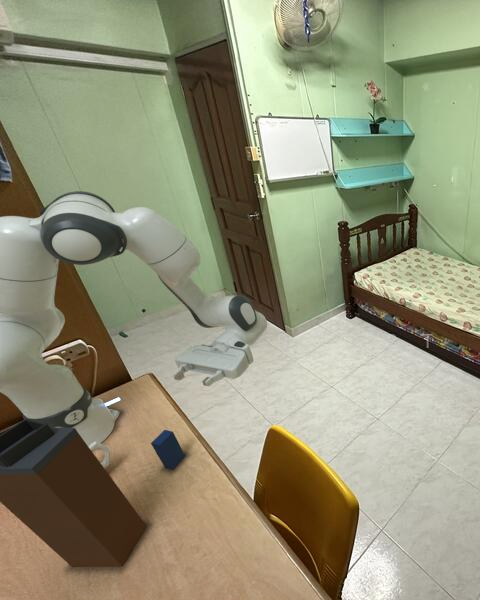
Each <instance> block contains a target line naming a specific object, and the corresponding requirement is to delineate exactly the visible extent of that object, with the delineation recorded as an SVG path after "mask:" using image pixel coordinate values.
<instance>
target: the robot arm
mask: <svg viewBox="0 0 480 600" xmlns="http://www.w3.org/2000/svg"><path fill="white" fill-rule="evenodd" d="M39 215H40V216H39V217H34V218H33V217H26V216H21V215H20V216H19V215H4V216H0V393H1V394H3V395H4V396H6V397H7V398H8V399H9V400H10V401H11V402H12V403H13V404H14V405H15V406H16V408H18V410H19V411H20V412H21V413H22V418H23V420H24V419H32V420H36V421H40V422H44V423H47V424H48V426H49V427H50V428H75V429H76V430H77V432H78V433H79V435H80V436H81V437H82V439H83V440H84V441H85V443H86V444H87V445H88V447H89V446H90V444H92V443H93V442H95V441H96V442H97V443H100V444H102V443H103V442H104V441H105V440H106V439H107V438H108V437H109V436H110V435H111V433H112V432H113V430H114V428H115V425H116V420H117V419H118V418H119V416H120V414H121V412H120V411H118V410H117V409H113V408H112V409H111V408H108V407H107V406H110V405H112V404H115V403H117V402H119V401H121V398H120V397H117V398H114V399H112V400H110V401H108V402H104V401H103V400H102V399H101V398H97V397H92V396H91V393H90V392H89V390H87V389H86V388H85V387H84V386H82V385H81V383H80V382H79V380H78V379H77V377H76V376H75V374H74V373H73V371H72V369H70V368H69V367H68V366H66V365H62V364H49V363H48V362H46V361H45V360H44V358H43V352H45V350H46V349H47V348H48V347H49V346H51V344H52V343H54V341H56V339H57V338H58V337H59V335H60V333H61V332H62V330H63V328H64V327H65V326H64V325H65V323H66V319H65V315H64V313H63V312H62V311H61V310H60V309H59V308H57V307H56V304H55V303H56V302H55V295H56V287H57V279H58V271H59V264H60V261H61V262H63V263H66V264H71V265H76V266H86V265H92V264H93V265H94V264H96V263H99V262H103V261H104V260H107V259H108V258H112V257H117V256H120V255H122V254H124V252H125V251H126V250H127V251H129V252H131V253H132V254H134V255H135V256H137V257H138V258H139V259H140V260H141V261H142V262H144V264H146V265H147V266H148V267H150V268H151V269H152V270H153V271H154V272H155V273H156V274H157V276H158V279H159V280H160V281H161V283H162V284H163V285H164V287H166V289H168V291H170V293H172V295H174V296H175V297H176V298H177V299H178V300H179V301H180V302H181V303H182V304H183V306H185V308H187V310H188V311H189V312H190V314H191V316H192V318H193V320H194V321H195V323H196V324H198V325H199V326H200V327H201V328H204V329H212V328H220V327H224V328H225V331H223V333H221V334H220V335H219V336H218V337H216V338H215V339H214V340H213V341H211V343H210V345H207V344H197V345H193V346H191V347H189V348H187V349H185V350H184V351H183V352H181V353H180V354H178V355H177V356H176V357H175V359H174V361H175V364H176V366H177V368H178V370H177V372H175V373H173V376H172V377H173V379H174V380H176V381H181V380H183V379H184V378H185V377H186V376H185V373H187V372H189V371H191V372H196V373H201V374H207V375H210V376H206V377H205V378H204V379H203V380H202V384H203V386H204V387H210V386H212V385H213V384H214V383H216V382H219V381H221V380H222V379H224V378H227V379H231V380H235V379H238V378H239V377H241V376H242V375H243V374H244V373H245V372H246V371H247V370H248V368H249V366H250V365H251V364H253V363H254V356H253V352H252V349H251V347H252V346H254V345H255V344H256V343H257V342H258V341H259V339H261V338H262V336H263V335H264V333H265V332H266V330H267V328H268V321H267V318H266V317H265V315H264V314H262V313H261V312H260V311H257V310H256V309H255V308H254V306H253V303H252V302H251V300H250V299H249V298H247V296H245V295H243V294H242V295H241V294H238V295H237V294H236V295H234V294H233V295H224V296H214V295H209V294H207V293H205V292H204V291H203V290H202V289H201V288H200V287H199V285H197V284H196V283H195V281H194V280H193V278H191V277H192V276H193V275H194V273H196V272H197V270H198V268H199V266H200V264H201V253H200V252H199V250H198V249H197V247H196V245H195V244H194V243H193V242H192V241H191V240H190V239H189V238H188V237H187V236H186V235H185V234H184V233H183V232H182V231H181V230H180V229H179V228H177V227H176V226H175V224H173V223H172V222H170V221H169V220H168V219H166V218H165V217H164V216H162V215H161V214H160V213H158V212H157V211H156V210H154V209H152V208H150V207H147V206H136V207H131V208H129V209H128V208H127V209H126V210H124V211H121V212H116V211H115V209H114V208H113V206H112V205H111V204H110V203H109V202H108V201H107V199H105V198H103V197H101V196H100V195H97V194H96V193H92V192H89V191H83V190H74V191H69V192H66V193H64V194H61V195H60V196H58V197H56V198H55V199H53V201H51V202H50V203H49V204H47V205H46V206H44V207H43V208H42V209H40V211H39Z"/></svg>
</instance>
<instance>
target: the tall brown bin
mask: <svg viewBox="0 0 480 600" xmlns="http://www.w3.org/2000/svg"><path fill="white" fill-rule="evenodd" d="M0 503H1V504H2V505H3V506H4V507H5V508H6V509H7V510H9V512H11V513H12V514H13V516H15V517H16V518H17V519H18V520H19V521H21V523H23V524H24V525H25V526H26V527H27V528H28V529H29V530H30V531H31V532H32V533H34V534H35V535H36V536H37V537H38V538H39V539H41V540H42V541H43V542H44V543H45V544H46V545H47V546H48V547H49V548H50V549H52V550H53V552H54V553H55V554H57V555H58V556H59V557H60V558H61V559H62V560H63V561H64V562H66V564H68V565H69V566H70V567H72V568H86V567H87V568H90V567H91V568H94V567H95V568H96V567H98V568H99V567H101V568H105V567H107V568H108V567H123V566H124V565H125V563H126V562H127V560H128V558H129V557H130V556H131V553H132V552H133V550H134V548H135V547H136V545H137V543H138V542H139V540H140V539H141V537H142V536H143V534H144V532H145V530H146V529H147V527H148V525H147V524H146V523H145V521H144V520H143V519H142V517H141V516H140V515H139V513H138V512H137V511H136V509H135V508H134V507H133V505H132V503H131V502H130V501H129V500H128V498H127V497H126V496H125V494H124V493H123V492H122V490H121V489H120V487H119V486H118V485H117V483H116V482H115V481H114V479H113V478H112V477H111V476H110V473H108V471H107V469H105V468H104V467H103V466H102V465H101V462H100V461H99V459H98V458H97V456H96V455H95V454H94V452H93V451H91V450H90V448H89V447H88V445H87V444H86V443H85V441H84V440H83V439H82V437H81V436H80V435H79V433H78V432H77V430H76V429H75V428H50V427H49V426H48V424H47V423H44V422H40V421H36V420H32V419H24V418H23V420H21V421H20V422H18V423H16V424H15V425H14V426H12V427H10V428H9V429H7V430H5V431H4V432H2V433H1V434H0Z"/></svg>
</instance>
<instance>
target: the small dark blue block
mask: <svg viewBox="0 0 480 600" xmlns="http://www.w3.org/2000/svg"><path fill="white" fill-rule="evenodd" d="M150 444H151V446H152V448H153V450H154V452H155V453H156V455H157V457H158V459H159V460H160V462H161V464H162V466H163V467H164V469H166V470H170V471H174V470H175V469H176V468H177V467H178V465H179V464H180V463H181V462H182V461H183V460H184V459H185V458H186V454H185V453H184V451H183V449H182V446H181V445H180V443H179V441H178V439H177V437H176V434H175V433H174V431H173V430H168V429H164V430H162V432H161V433H159V435H157V436H156V437H155V438H154V439H153V440H152V441H151V442H150Z"/></svg>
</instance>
